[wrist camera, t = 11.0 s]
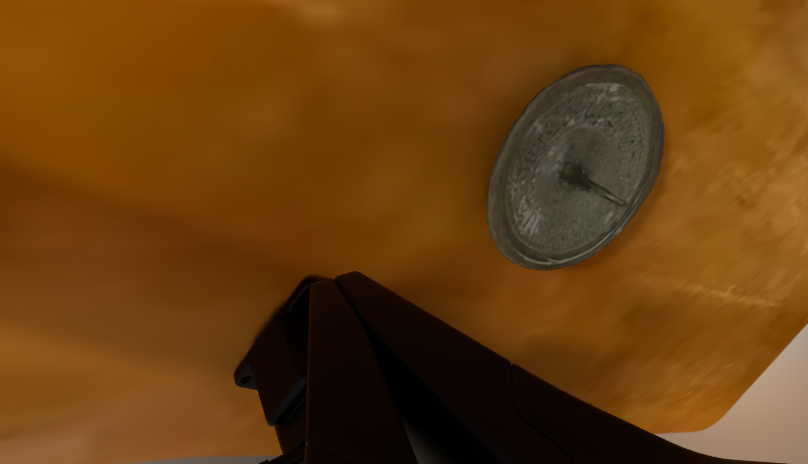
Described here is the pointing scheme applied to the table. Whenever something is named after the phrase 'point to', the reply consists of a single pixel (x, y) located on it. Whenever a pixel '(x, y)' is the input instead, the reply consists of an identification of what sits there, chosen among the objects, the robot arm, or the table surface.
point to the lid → (575, 167)
